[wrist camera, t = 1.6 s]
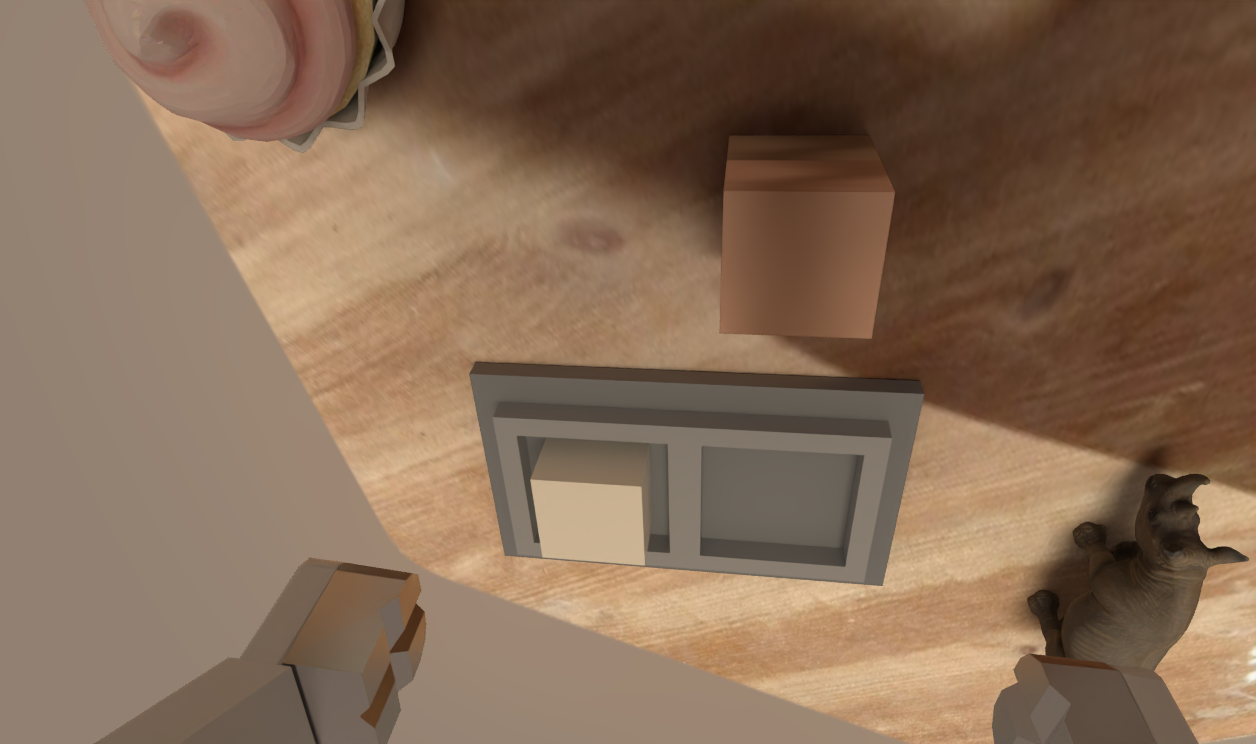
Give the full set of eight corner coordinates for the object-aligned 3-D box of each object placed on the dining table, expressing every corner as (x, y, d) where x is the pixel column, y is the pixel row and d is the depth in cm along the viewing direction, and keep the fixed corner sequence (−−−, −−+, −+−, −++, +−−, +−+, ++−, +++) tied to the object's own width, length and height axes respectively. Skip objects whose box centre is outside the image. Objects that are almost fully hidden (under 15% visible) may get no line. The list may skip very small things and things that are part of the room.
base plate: (919, 380, 32) (939, 438, 28) (879, 570, 38) (891, 635, 35) (476, 362, 35) (446, 413, 31) (509, 542, 41) (488, 599, 38)
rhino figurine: (1228, 439, 31) (1317, 544, 26) (1086, 638, 39) (1134, 748, 34) (1129, 424, 32) (1198, 525, 27) (1007, 624, 39) (1044, 731, 34)
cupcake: (341, 161, 30) (184, 268, 22) (148, -49, 26) (-125, -18, 18) (504, 13, 26) (389, 73, 18) (303, -259, 22) (41, -341, 14)
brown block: (869, 134, 26) (895, 192, 22) (851, 261, 29) (871, 338, 24) (729, 135, 27) (723, 191, 22) (725, 259, 30) (719, 333, 25)
